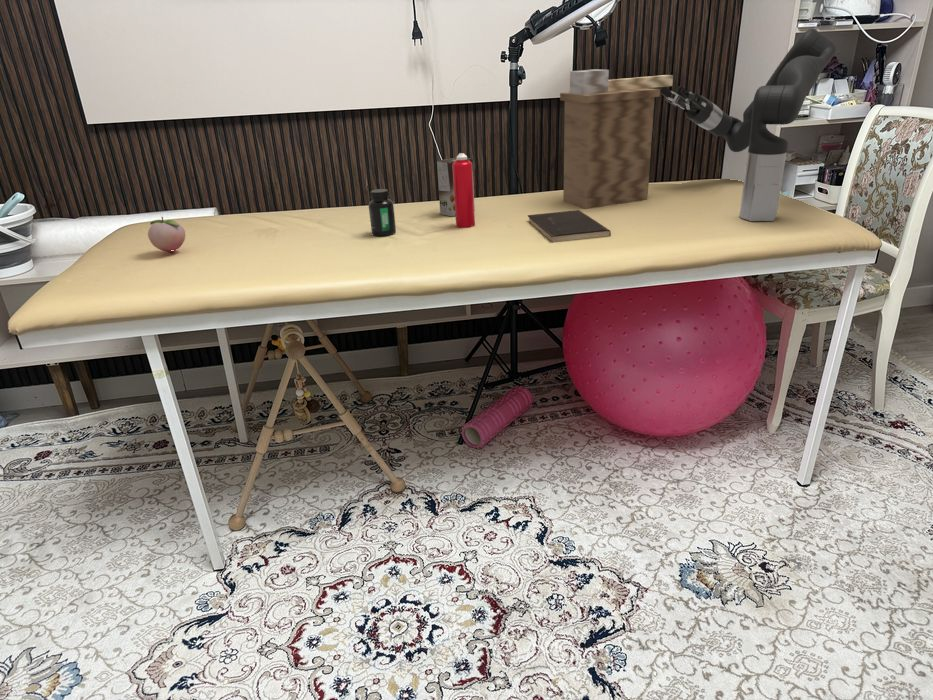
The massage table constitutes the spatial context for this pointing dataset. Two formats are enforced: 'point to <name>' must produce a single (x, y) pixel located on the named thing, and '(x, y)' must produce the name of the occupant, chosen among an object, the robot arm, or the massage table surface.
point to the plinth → (607, 146)
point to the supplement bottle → (381, 213)
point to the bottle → (463, 192)
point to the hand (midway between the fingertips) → (669, 88)
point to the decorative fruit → (166, 235)
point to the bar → (612, 82)
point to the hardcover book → (568, 226)
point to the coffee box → (447, 186)
